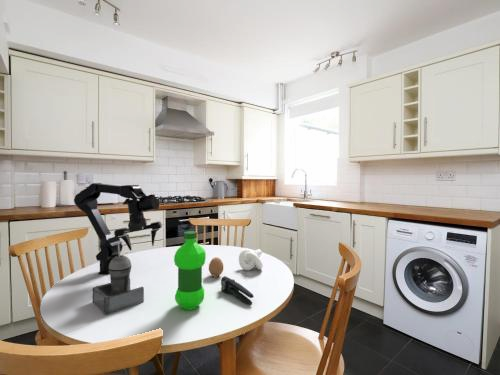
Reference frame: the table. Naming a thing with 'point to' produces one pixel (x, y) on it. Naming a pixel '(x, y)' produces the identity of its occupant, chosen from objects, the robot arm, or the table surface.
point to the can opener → (236, 289)
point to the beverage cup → (119, 273)
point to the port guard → (116, 298)
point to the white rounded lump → (250, 259)
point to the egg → (216, 266)
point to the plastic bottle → (190, 272)
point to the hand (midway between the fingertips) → (142, 248)
